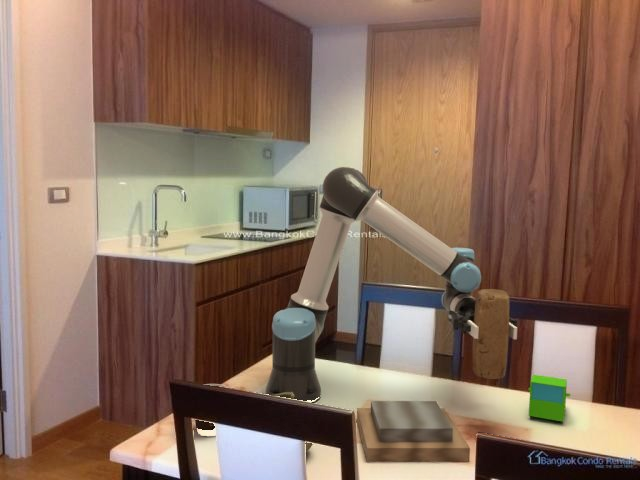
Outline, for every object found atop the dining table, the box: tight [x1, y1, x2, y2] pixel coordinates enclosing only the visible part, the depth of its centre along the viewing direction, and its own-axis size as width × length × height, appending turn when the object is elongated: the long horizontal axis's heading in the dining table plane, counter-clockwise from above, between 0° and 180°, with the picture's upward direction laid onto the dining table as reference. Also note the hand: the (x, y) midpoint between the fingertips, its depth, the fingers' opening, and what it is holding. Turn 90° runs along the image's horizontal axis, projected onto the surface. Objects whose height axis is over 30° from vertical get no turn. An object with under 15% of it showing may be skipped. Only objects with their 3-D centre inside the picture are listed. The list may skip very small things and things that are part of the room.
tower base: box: [356, 400, 471, 463], centre depth 136 cm, size 22×22×6 cm
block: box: [472, 288, 511, 380], centre depth 140 cm, size 11×8×20 cm
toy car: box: [528, 374, 571, 424], centre depth 152 cm, size 10×13×10 cm
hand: (496, 333), depth 135 cm, fingers closed on block, 8 cm apart
